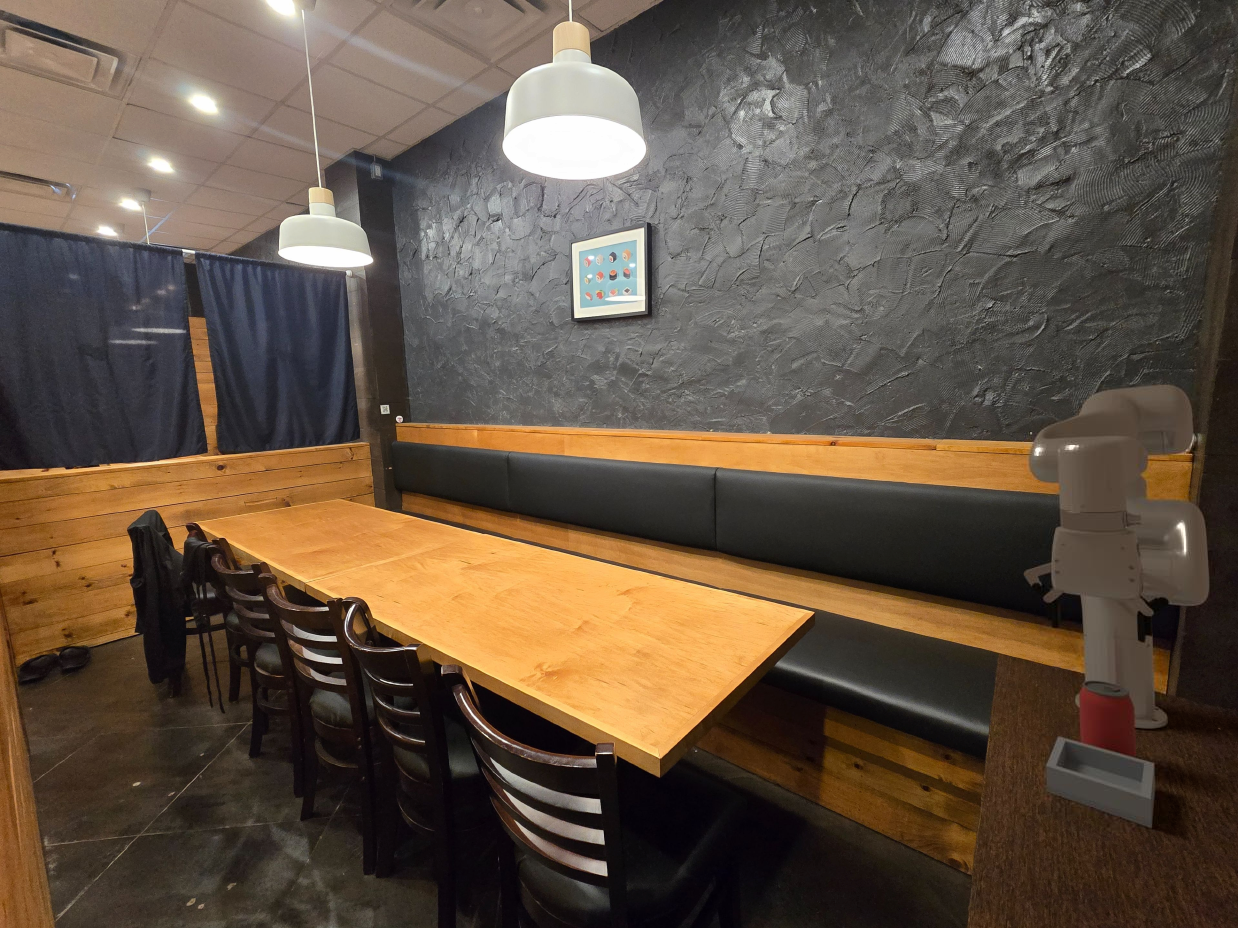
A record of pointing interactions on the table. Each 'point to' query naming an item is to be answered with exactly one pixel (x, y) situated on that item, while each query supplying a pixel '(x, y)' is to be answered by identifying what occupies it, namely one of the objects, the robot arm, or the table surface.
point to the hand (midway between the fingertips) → (1097, 632)
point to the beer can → (1107, 717)
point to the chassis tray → (1102, 780)
